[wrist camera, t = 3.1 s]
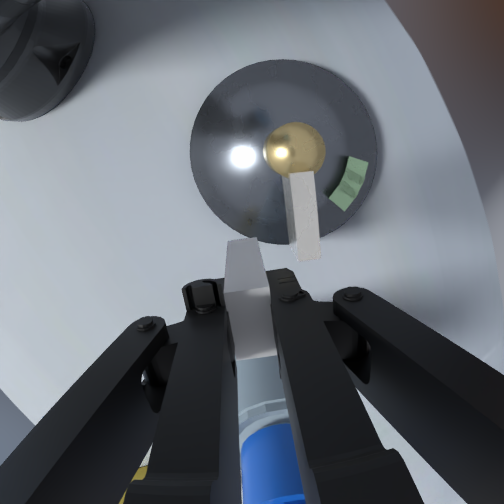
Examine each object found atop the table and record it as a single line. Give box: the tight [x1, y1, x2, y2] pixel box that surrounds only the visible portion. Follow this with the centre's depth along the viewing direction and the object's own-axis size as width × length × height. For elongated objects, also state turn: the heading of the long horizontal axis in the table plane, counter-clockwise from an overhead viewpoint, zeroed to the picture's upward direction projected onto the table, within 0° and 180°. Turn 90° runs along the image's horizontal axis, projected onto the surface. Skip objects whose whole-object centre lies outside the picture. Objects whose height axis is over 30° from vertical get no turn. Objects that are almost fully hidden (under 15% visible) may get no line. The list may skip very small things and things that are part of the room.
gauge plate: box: [190, 59, 377, 245], centre depth 28 cm, size 17×17×1 cm
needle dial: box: [263, 122, 326, 262], centre depth 26 cm, size 11×4×5 cm, turn 8°
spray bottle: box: [235, 355, 306, 504], centre depth 23 cm, size 9×9×25 cm
